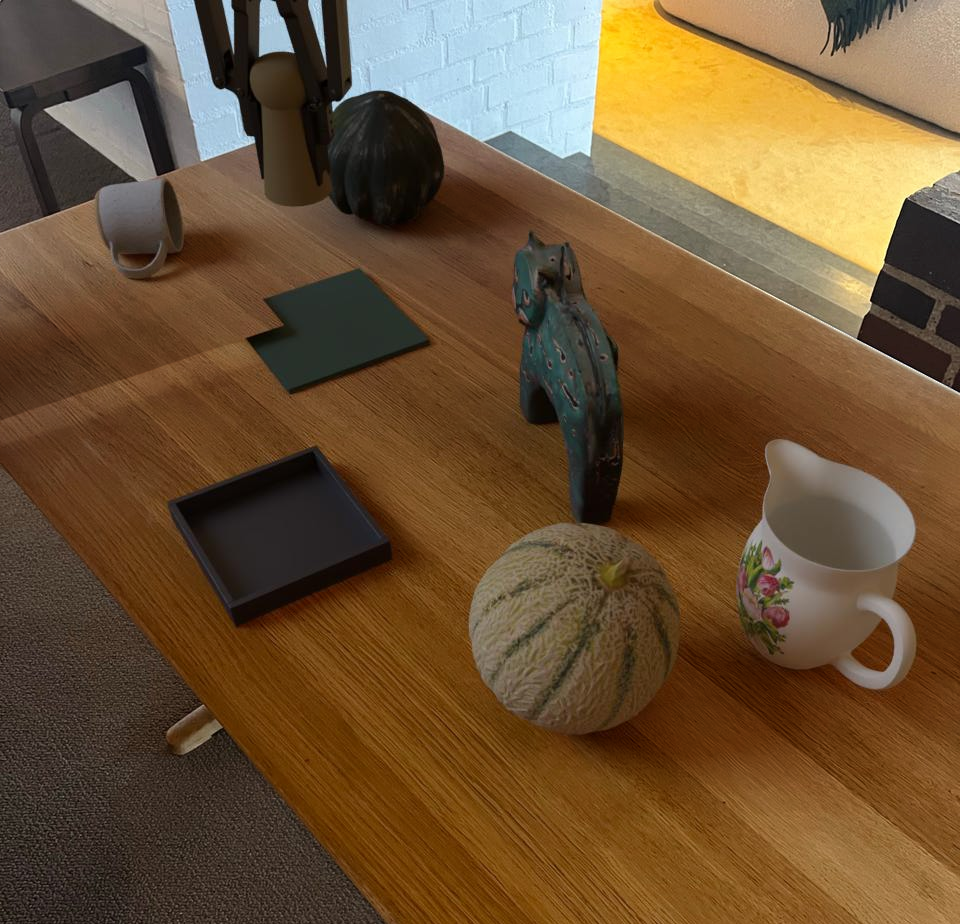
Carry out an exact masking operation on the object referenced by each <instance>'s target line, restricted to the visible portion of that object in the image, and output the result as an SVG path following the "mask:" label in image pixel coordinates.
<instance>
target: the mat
mask: <svg viewBox="0 0 960 924" xmlns="http://www.w3.org/2000/svg"><path fill="white" fill-rule="evenodd" d="M262 301H263V302H264V303H265V304H266V305H267V307H268V308H269V309H270V310H271V311H272V313H273V314H274V315H275V316H276V317H277V318H278V320H279V321H280V322H281V323H282V325H280V326H277V327H274V328H271V329H268V330H265V331H263V332H259V333H256V334H253V335H250V336H247V337H245V340H246V341H247V343H248V344H249V345H250V346H251V347H252V349H253V350H254V351H255V353H256V354H257V355H258V356H259V358H260V359H261V360H262V361H263V363H264V364H265V366H266V367H267V368H268V369H269V370H270V372H271V373H272V374H273V375H274V377H275V378H276V379H277V381H278V382H279V383H280V384H281V386H282V387H283V388H284V390H285V391H286V393H288V394H289V395H291V394H294V393H296V392H299V391H302V390H305V389H308V388H310V387H314V386H317V385H318V384H319V385H320V384H321V383H324V382H328V381H330V380H333V379H336V378H339V377H341V376H344V375H347V374H350V373H352V372H355V371H358V370H361V369H363V368H367V367H369V366H372V365H375V364H377V363H381V362H383V361H386V360H389V359H392V358H395V357H397V356H400V355H403V354H406V353H408V352H412V351H414V350H417V349H420V348H423V347H425V346H428V345H430V344H431V340H430V338H429V337H428V336H427V335H426V334H425V333H424V332H423V331H422V330H421V329H420V328H419V327H418V326H417V325H416V324H415V323H414V322H413V321H412V320H411V319H410V318H409V317H408V316H407V315H406V313H404V312H403V311H402V310H401V308H399V306H398V305H396V303H394V301H393V300H392V299H391V298H389V296H387V294H386V293H385V292H384V291H383V290H382V289H381V288H380V287H379V286H378V285H377V284H376V283H375V282H374V281H373V280H372V279H371V278H370V277H369V276H368V274H366V273H365V271H363V270H362V269H361V268H360V267H358V268H355V269H352V270H349V271H346V272H343V273H339V274H336V275H333V276H330V277H327V278H324V279H320V280H318V281H315V282H312V283H308V284H305V285H302V286H299V287H296V288H293V289H290V290H286V291H284V292H280V293H277V294H274V295H271V296H267V297H264V298H262Z"/></svg>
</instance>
